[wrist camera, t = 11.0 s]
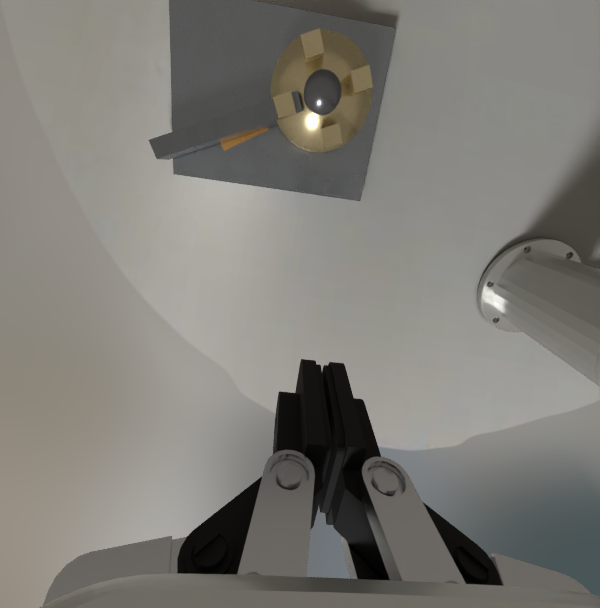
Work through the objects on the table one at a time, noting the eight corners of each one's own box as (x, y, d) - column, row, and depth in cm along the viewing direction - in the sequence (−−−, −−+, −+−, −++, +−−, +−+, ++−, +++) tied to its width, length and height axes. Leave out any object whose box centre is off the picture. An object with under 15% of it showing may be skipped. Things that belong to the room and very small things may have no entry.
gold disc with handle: (373, 137, 31) (383, 133, 28) (184, 196, 33) (172, 200, 29) (355, 27, 27) (364, 7, 24) (144, 100, 29) (125, 91, 26)
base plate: (391, 34, 29) (396, 27, 28) (357, 199, 35) (360, 201, 34) (174, -7, 27) (168, -17, 26) (178, 173, 33) (173, 173, 32)
